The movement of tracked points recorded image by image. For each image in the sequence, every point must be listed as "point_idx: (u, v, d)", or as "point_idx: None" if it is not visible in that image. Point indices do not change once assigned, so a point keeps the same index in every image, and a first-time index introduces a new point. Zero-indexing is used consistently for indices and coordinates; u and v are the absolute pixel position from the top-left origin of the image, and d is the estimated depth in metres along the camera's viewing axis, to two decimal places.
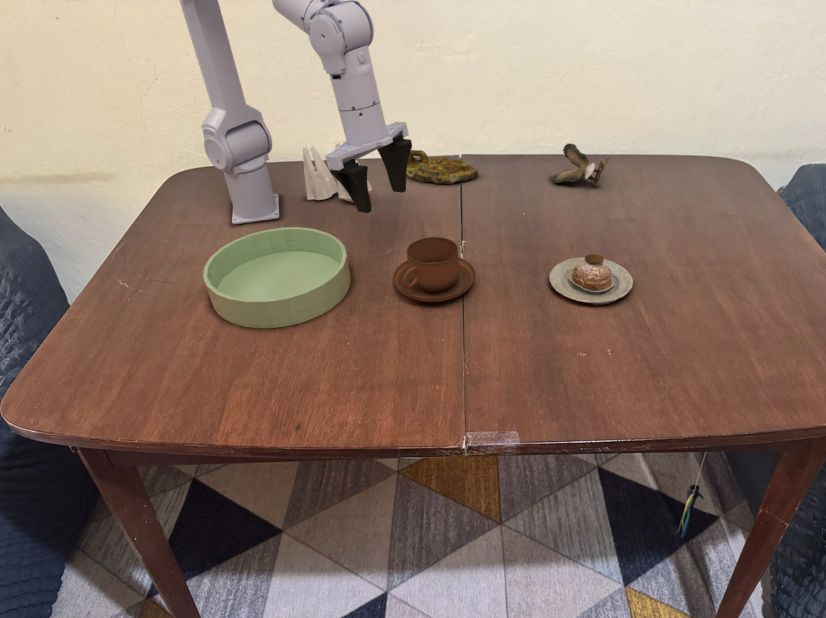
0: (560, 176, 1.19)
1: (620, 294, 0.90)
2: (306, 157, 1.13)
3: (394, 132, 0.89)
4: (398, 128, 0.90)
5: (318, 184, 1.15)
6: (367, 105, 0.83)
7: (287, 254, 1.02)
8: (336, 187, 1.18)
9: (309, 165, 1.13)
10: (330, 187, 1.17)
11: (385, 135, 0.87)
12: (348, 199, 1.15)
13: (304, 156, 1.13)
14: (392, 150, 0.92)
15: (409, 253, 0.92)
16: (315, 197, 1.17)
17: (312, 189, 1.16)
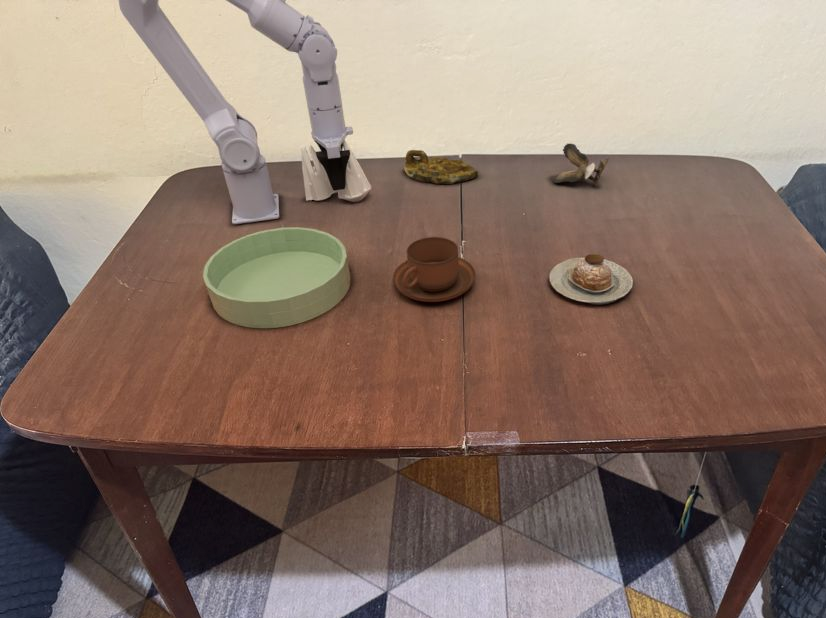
0: (560, 176, 1.19)
1: (620, 294, 0.90)
2: (305, 157, 1.13)
3: None
4: None
5: (317, 184, 1.15)
6: (341, 103, 1.06)
7: (287, 254, 1.02)
8: None
9: (308, 165, 1.13)
10: (329, 187, 1.17)
11: None
12: (348, 198, 1.15)
13: (303, 157, 1.13)
14: None
15: (409, 253, 0.92)
16: (314, 197, 1.17)
17: (311, 189, 1.16)
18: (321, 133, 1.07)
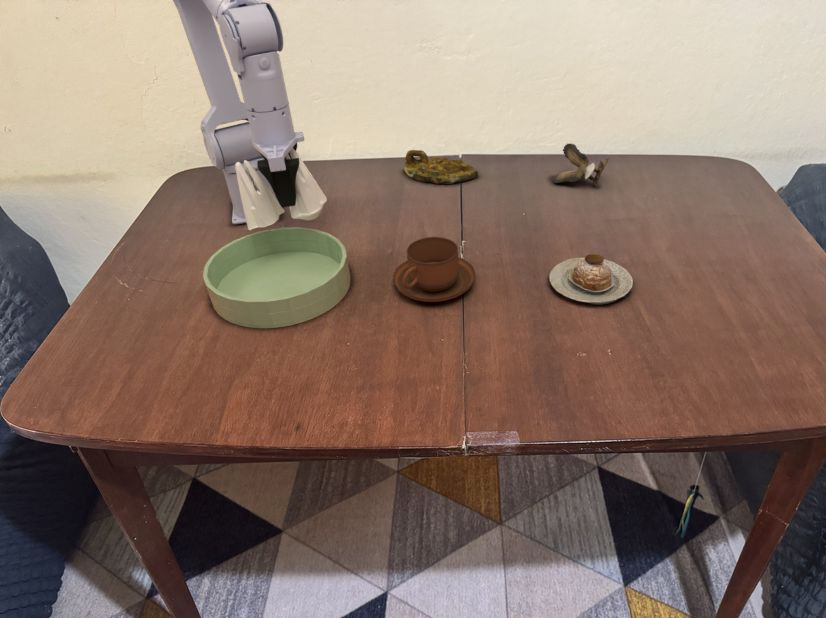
0: (560, 176, 1.19)
1: (620, 294, 0.90)
2: (243, 177, 0.91)
3: None
4: None
5: (263, 207, 0.93)
6: (266, 110, 0.84)
7: (287, 254, 1.02)
8: (280, 207, 0.97)
9: (249, 185, 0.91)
10: (274, 208, 0.96)
11: None
12: (305, 217, 0.95)
13: (240, 176, 0.91)
14: None
15: (409, 253, 0.92)
16: (260, 224, 0.95)
17: (254, 215, 0.94)
18: (263, 140, 0.86)
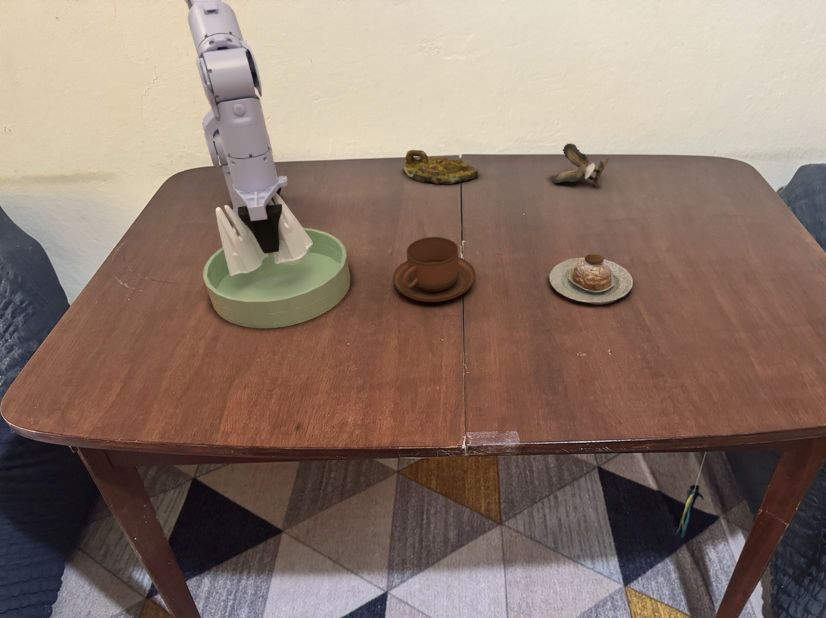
0: (560, 176, 1.19)
1: (620, 294, 0.90)
2: (224, 222, 0.86)
3: None
4: None
5: (245, 253, 0.89)
6: (241, 156, 0.80)
7: None
8: None
9: (230, 231, 0.87)
10: (258, 253, 0.92)
11: (276, 175, 0.86)
12: (290, 262, 0.91)
13: (220, 222, 0.86)
14: None
15: (409, 253, 0.92)
16: (242, 270, 0.91)
17: (236, 260, 0.90)
18: (243, 186, 0.82)
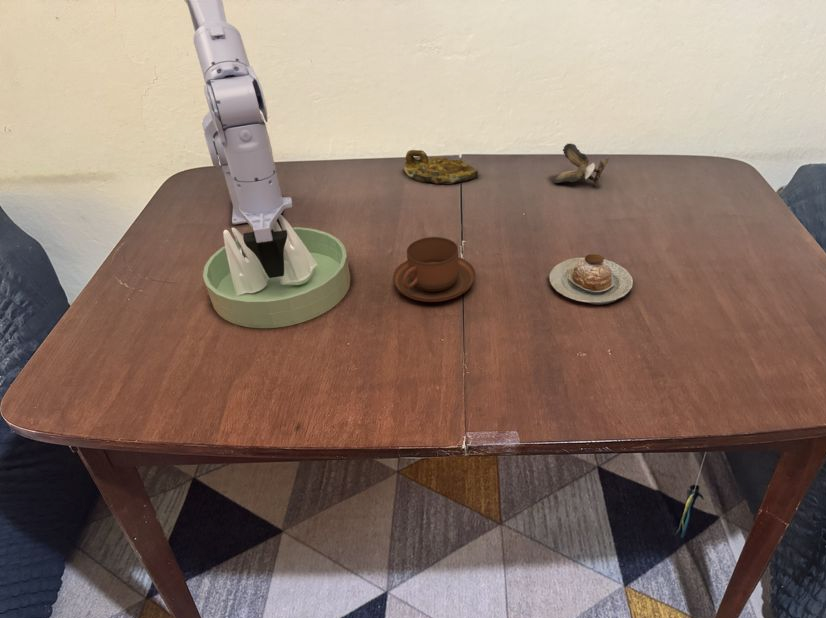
0: (560, 176, 1.19)
1: (620, 294, 0.90)
2: (231, 245, 0.89)
3: None
4: None
5: (251, 273, 0.91)
6: (247, 180, 0.82)
7: None
8: None
9: (237, 253, 0.89)
10: (263, 273, 0.94)
11: (281, 197, 0.88)
12: (295, 283, 0.93)
13: (228, 244, 0.89)
14: None
15: (409, 253, 0.92)
16: (248, 290, 0.93)
17: (242, 281, 0.92)
18: (249, 208, 0.84)
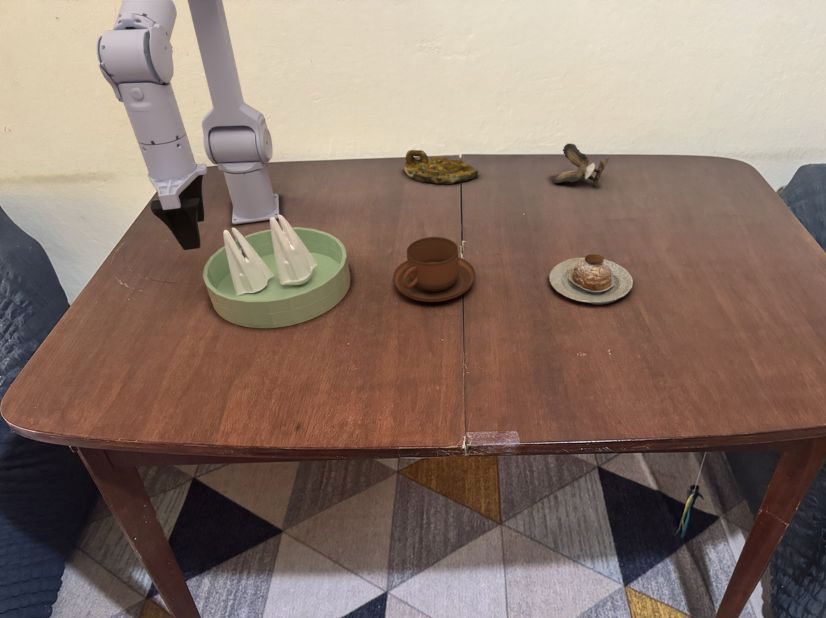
0: (560, 176, 1.19)
1: (620, 294, 0.90)
2: (231, 245, 0.89)
3: None
4: None
5: (251, 273, 0.91)
6: (144, 142, 0.76)
7: None
8: (269, 272, 0.95)
9: (237, 253, 0.89)
10: (263, 273, 0.94)
11: (195, 163, 0.82)
12: (295, 283, 0.93)
13: (228, 244, 0.89)
14: None
15: (409, 253, 0.92)
16: (248, 290, 0.93)
17: (242, 281, 0.92)
18: (157, 174, 0.79)
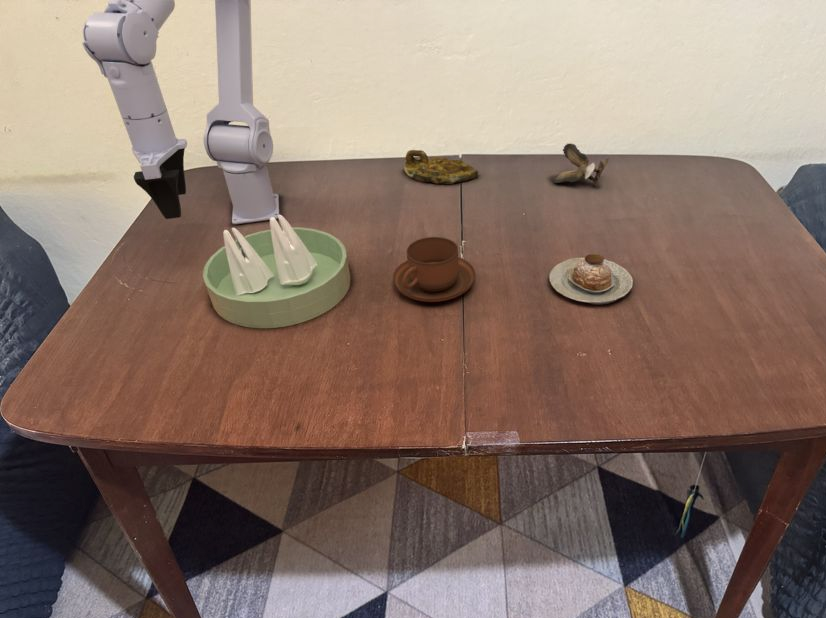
0: (560, 176, 1.19)
1: (620, 294, 0.90)
2: (231, 245, 0.89)
3: None
4: None
5: (251, 273, 0.91)
6: (123, 116, 0.84)
7: None
8: (269, 272, 0.95)
9: (237, 253, 0.89)
10: (263, 273, 0.94)
11: (176, 138, 0.89)
12: (295, 283, 0.93)
13: (228, 244, 0.89)
14: None
15: (409, 253, 0.92)
16: (248, 290, 0.93)
17: (242, 281, 0.92)
18: (140, 147, 0.86)
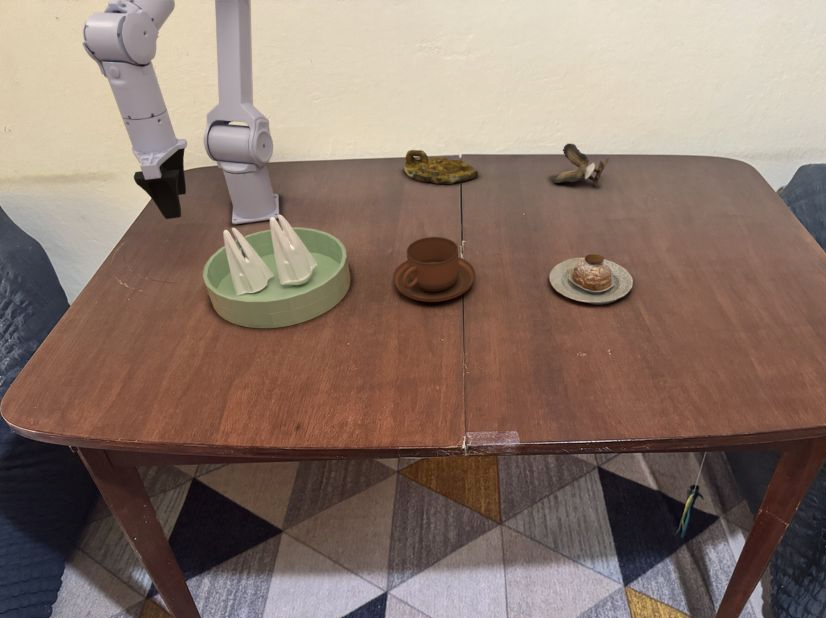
0: (560, 176, 1.19)
1: (620, 294, 0.90)
2: (231, 245, 0.89)
3: None
4: None
5: (251, 273, 0.91)
6: (123, 116, 0.84)
7: None
8: (269, 272, 0.95)
9: (237, 253, 0.89)
10: (263, 273, 0.94)
11: (176, 138, 0.89)
12: (295, 283, 0.93)
13: (228, 244, 0.89)
14: None
15: (409, 253, 0.92)
16: (248, 290, 0.93)
17: (242, 281, 0.92)
18: (140, 147, 0.86)
